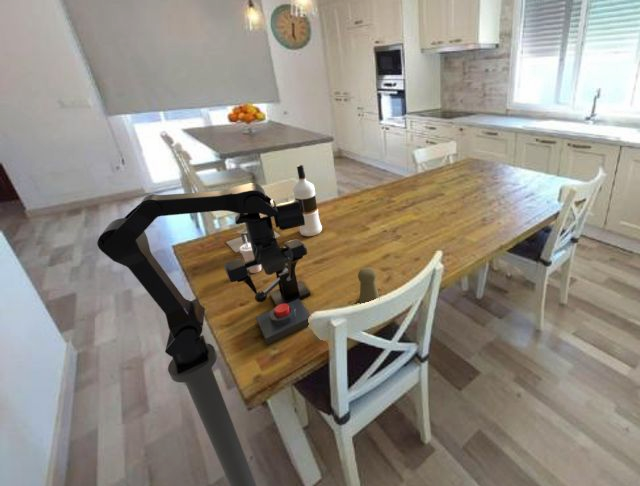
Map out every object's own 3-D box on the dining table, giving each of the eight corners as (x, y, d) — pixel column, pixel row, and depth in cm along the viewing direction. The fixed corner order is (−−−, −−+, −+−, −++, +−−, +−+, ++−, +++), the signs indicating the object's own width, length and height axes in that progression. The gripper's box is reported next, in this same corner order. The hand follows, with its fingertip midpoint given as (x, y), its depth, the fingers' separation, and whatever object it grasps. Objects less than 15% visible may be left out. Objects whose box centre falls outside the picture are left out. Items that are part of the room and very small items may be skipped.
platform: (280, 235, 136) (278, 222, 134) (235, 252, 124) (231, 237, 122) (269, 227, 144) (266, 214, 141) (225, 242, 132) (221, 227, 130)
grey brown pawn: (360, 309, 94) (357, 278, 89) (358, 296, 99) (355, 266, 95) (380, 305, 95) (378, 274, 91) (377, 292, 101) (375, 263, 96)
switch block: (267, 344, 82) (264, 333, 81) (257, 322, 89) (254, 311, 88) (312, 323, 89) (310, 311, 87) (300, 304, 96) (298, 293, 95)
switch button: (277, 319, 86) (276, 314, 85) (274, 312, 88) (272, 307, 87) (291, 313, 88) (290, 308, 87) (287, 306, 90) (286, 301, 89)
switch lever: (261, 306, 93) (253, 301, 91) (258, 300, 96) (251, 295, 94) (294, 276, 97) (287, 270, 95) (291, 271, 100) (284, 265, 98)
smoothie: (247, 266, 115) (238, 232, 110) (266, 263, 117) (258, 229, 111) (244, 276, 109) (234, 241, 104) (264, 273, 111) (255, 238, 106)
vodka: (299, 238, 134) (286, 169, 122) (301, 228, 142) (289, 163, 130) (322, 235, 136) (311, 167, 124) (322, 226, 144) (312, 161, 132)
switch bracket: (277, 309, 94) (271, 282, 90) (270, 295, 100) (263, 269, 96) (310, 295, 100) (305, 269, 96) (301, 283, 106) (296, 257, 102)
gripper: (226, 262, 68) (244, 318, 74) (310, 233, 79) (320, 285, 85) (216, 242, 76) (232, 295, 82) (294, 218, 87) (303, 267, 93)
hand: (274, 285), depth 85 cm, fingers open, 9 cm apart
